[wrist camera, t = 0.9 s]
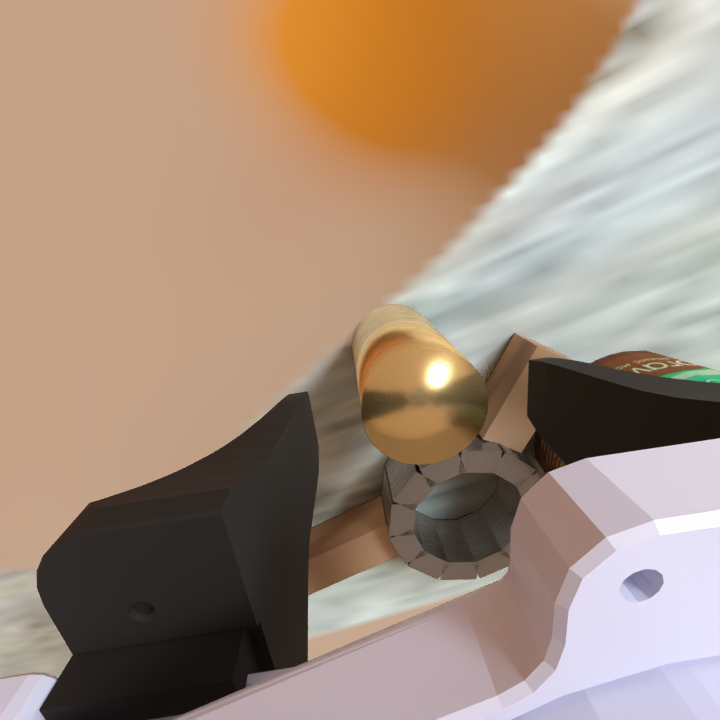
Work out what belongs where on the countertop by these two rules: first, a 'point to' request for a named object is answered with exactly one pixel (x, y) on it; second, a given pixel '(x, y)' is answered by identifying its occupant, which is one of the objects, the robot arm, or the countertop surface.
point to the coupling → (413, 482)
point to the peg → (415, 387)
